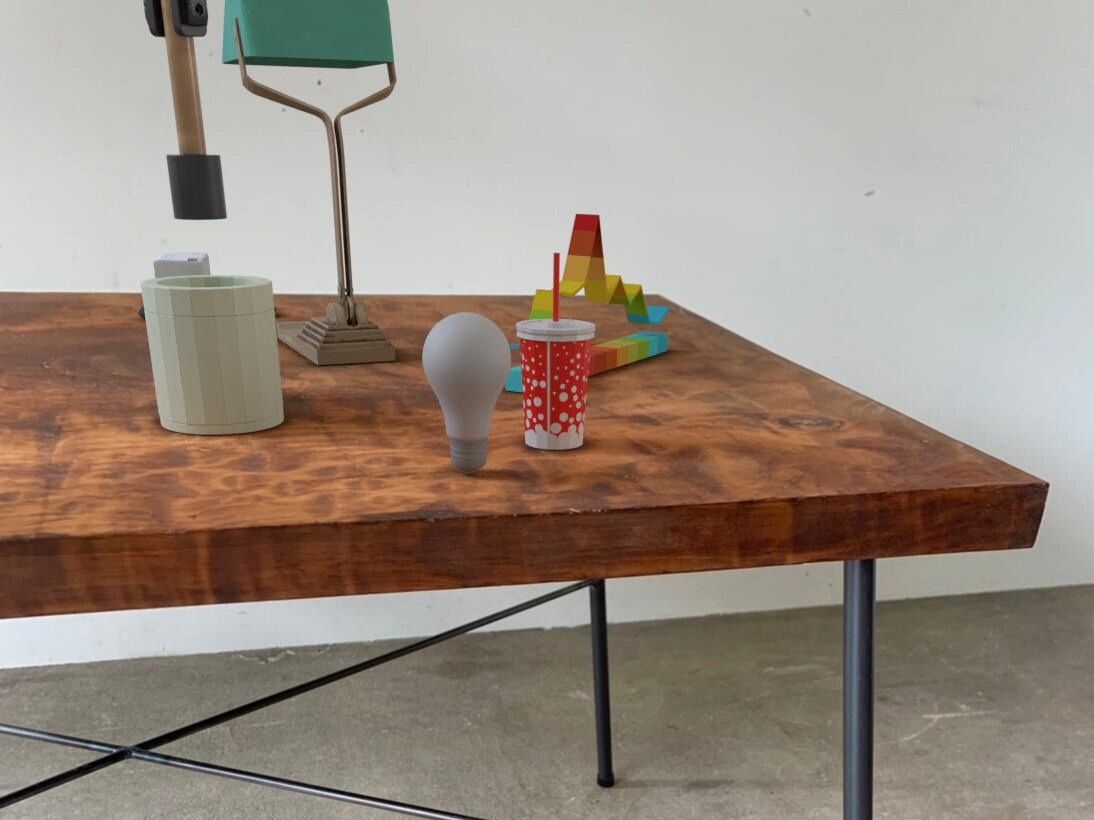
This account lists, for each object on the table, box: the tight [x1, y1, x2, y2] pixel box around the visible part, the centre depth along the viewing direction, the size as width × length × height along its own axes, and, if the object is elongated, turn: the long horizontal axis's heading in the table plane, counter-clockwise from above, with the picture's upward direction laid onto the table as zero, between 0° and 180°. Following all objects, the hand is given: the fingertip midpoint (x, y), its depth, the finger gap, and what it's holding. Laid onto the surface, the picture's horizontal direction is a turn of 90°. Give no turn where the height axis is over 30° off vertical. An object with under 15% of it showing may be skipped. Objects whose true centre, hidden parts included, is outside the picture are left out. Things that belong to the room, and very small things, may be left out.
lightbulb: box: [421, 311, 512, 475], centre depth 81 cm, size 6×6×11 cm
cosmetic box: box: [152, 252, 211, 278], centre depth 102 cm, size 6×4×12 cm
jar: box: [140, 274, 285, 436], centre depth 95 cm, size 10×10×11 cm
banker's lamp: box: [221, 0, 398, 366], centre depth 123 cm, size 16×21×35 cm
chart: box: [504, 213, 670, 393], centre depth 119 cm, size 30×3×15 cm, turn 150°
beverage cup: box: [515, 252, 596, 451], centre depth 89 cm, size 6×6×14 cm
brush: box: [161, 0, 228, 221], centre depth 78 cm, size 4×4×16 cm
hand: (179, 35), depth 77 cm, fingers closed on brush, 2 cm apart
